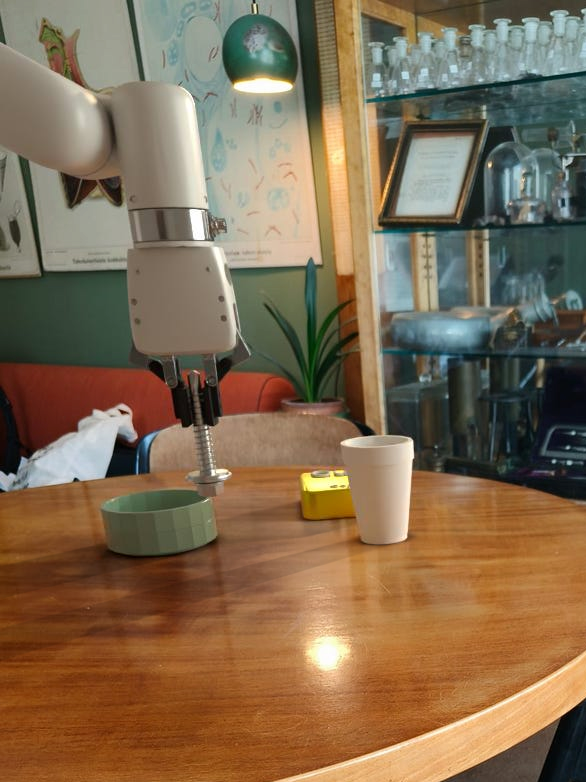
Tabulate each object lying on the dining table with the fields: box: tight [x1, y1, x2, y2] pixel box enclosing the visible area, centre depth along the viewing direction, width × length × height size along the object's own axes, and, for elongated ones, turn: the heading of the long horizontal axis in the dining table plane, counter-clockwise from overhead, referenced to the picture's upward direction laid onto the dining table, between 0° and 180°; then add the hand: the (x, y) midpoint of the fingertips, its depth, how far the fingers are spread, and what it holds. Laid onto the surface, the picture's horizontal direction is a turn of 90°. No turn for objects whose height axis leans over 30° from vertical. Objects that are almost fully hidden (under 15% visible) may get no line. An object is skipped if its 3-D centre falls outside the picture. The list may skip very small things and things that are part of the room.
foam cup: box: [340, 434, 415, 545], centre depth 117 cm, size 10×9×13 cm
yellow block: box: [298, 469, 356, 521], centre depth 137 cm, size 15×15×5 cm
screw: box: [184, 369, 233, 498], centre depth 93 cm, size 13×5×5 cm
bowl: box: [99, 488, 219, 557], centre depth 120 cm, size 14×14×6 cm
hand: (200, 423), depth 93 cm, fingers closed on screw, 2 cm apart
